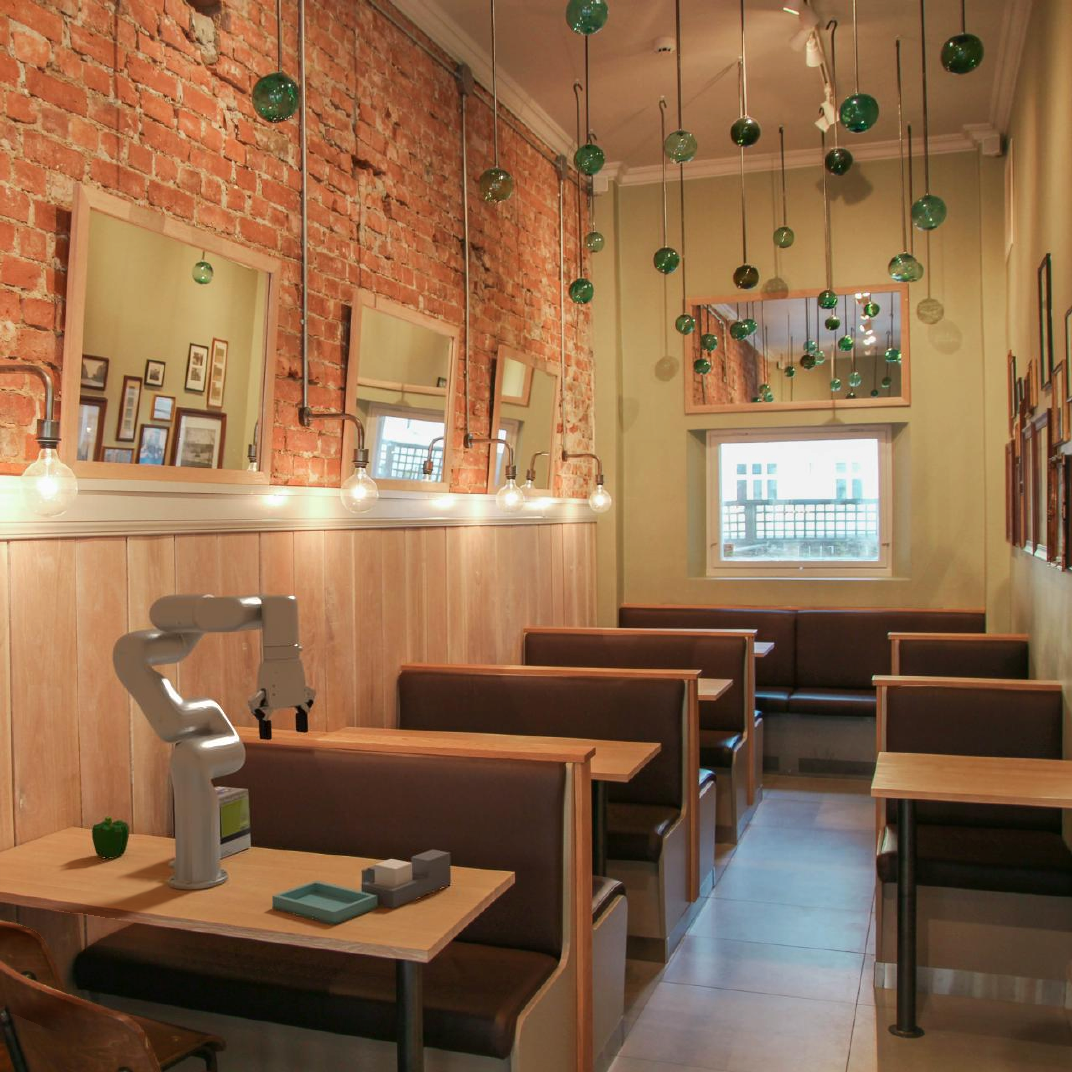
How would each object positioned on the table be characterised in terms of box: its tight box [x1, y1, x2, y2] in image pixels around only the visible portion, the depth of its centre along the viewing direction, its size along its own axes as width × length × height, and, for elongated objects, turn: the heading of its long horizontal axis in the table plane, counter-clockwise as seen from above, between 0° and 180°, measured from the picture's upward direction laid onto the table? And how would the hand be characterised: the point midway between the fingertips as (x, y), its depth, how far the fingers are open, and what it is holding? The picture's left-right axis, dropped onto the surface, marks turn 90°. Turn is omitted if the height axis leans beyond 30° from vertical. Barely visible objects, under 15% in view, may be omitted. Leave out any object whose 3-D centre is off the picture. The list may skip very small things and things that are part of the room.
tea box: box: [213, 785, 252, 860], centre depth 268 cm, size 15×10×15 cm
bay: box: [360, 849, 452, 909], centre depth 236 cm, size 9×18×7 cm, turn 144°
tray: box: [271, 880, 379, 926], centre depth 227 cm, size 18×12×2 cm, turn 54°
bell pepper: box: [91, 815, 130, 859], centre depth 268 cm, size 8×8×10 cm
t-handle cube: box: [361, 858, 412, 888], centre depth 235 cm, size 10×5×7 cm, turn 54°
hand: (284, 735), depth 233 cm, fingers open, 9 cm apart
